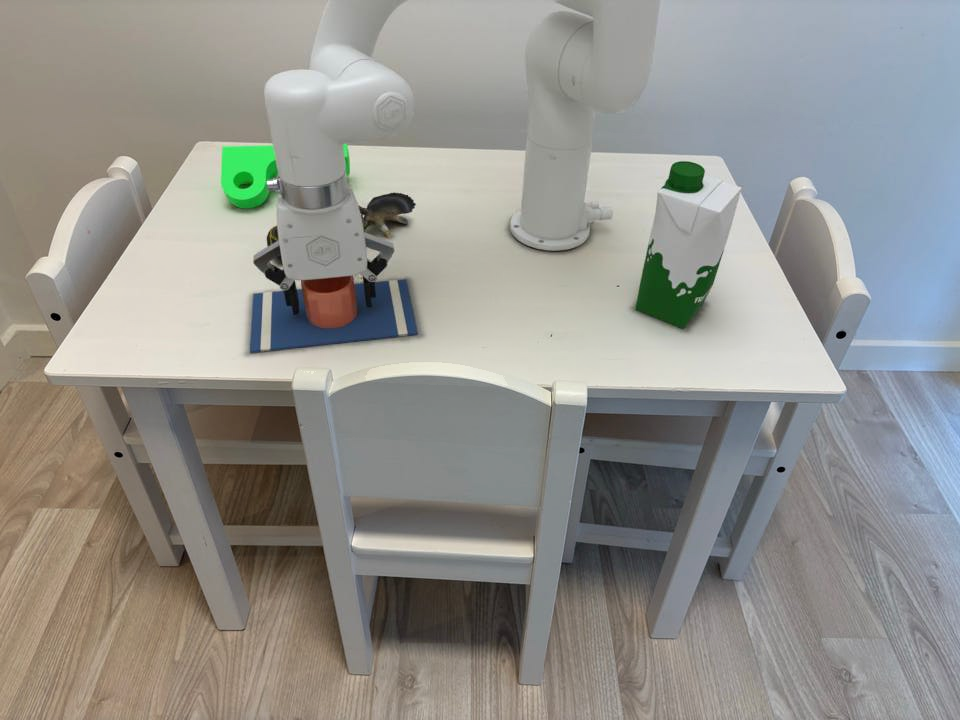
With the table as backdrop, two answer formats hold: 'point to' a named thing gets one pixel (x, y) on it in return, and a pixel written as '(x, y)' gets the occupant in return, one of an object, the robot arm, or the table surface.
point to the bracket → (252, 173)
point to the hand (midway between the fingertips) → (332, 304)
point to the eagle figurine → (386, 210)
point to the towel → (289, 331)
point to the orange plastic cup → (330, 301)
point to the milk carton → (685, 243)
